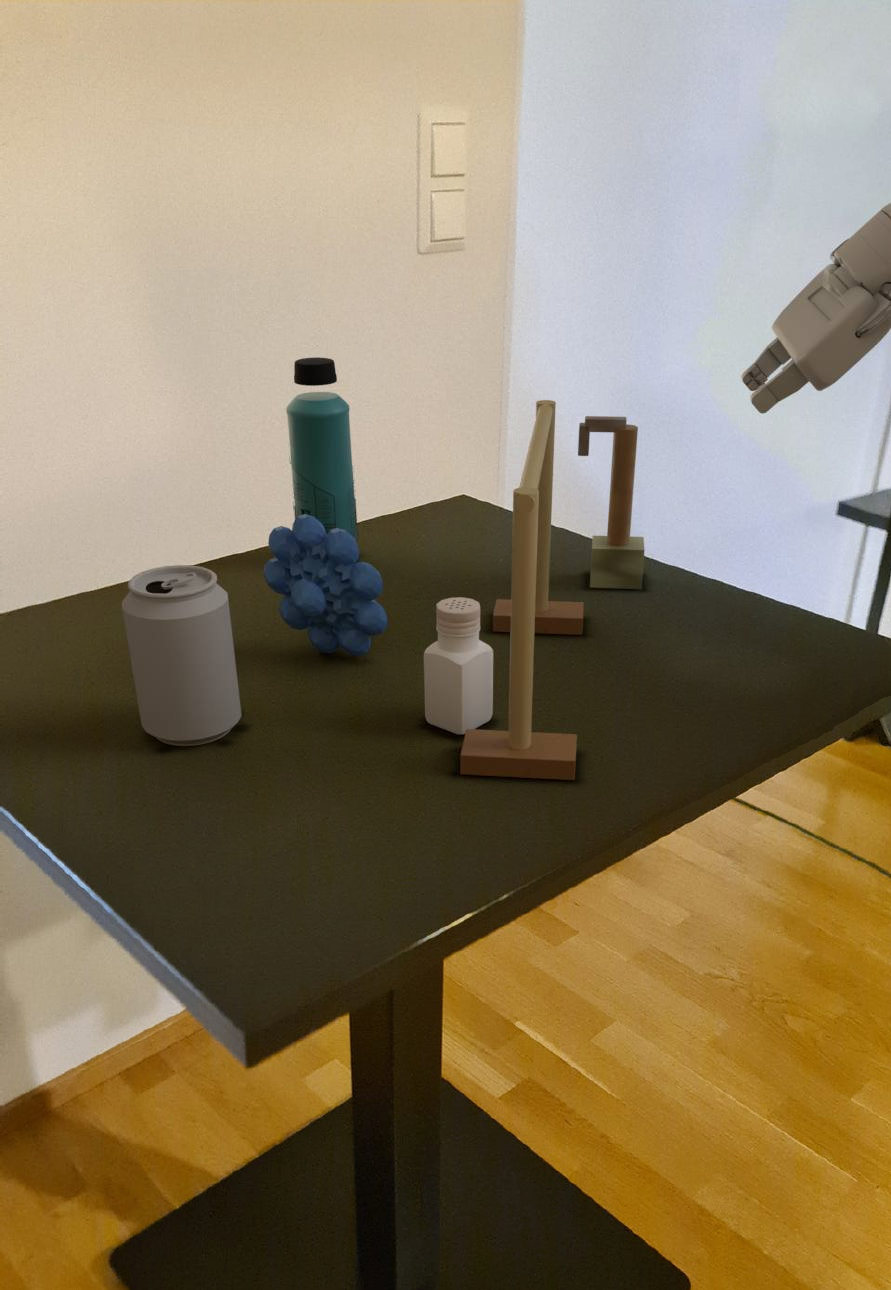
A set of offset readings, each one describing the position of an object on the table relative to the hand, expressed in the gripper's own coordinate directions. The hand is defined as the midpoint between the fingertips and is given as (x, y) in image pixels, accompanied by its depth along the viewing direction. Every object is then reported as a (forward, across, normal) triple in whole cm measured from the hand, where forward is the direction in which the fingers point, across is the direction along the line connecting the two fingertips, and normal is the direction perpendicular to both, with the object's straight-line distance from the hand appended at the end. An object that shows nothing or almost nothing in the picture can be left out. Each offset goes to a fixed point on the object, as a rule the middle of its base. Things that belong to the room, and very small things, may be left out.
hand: (750, 395), depth 103 cm
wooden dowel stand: (+25, -26, 0) cm, 36 cm away
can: (+43, -36, +17) cm, 59 cm away
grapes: (+38, -22, +12) cm, 46 cm away
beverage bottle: (+42, +3, +16) cm, 45 cm away
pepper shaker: (+29, -33, +3) cm, 44 cm away
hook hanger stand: (+20, -1, -5) cm, 21 cm away
